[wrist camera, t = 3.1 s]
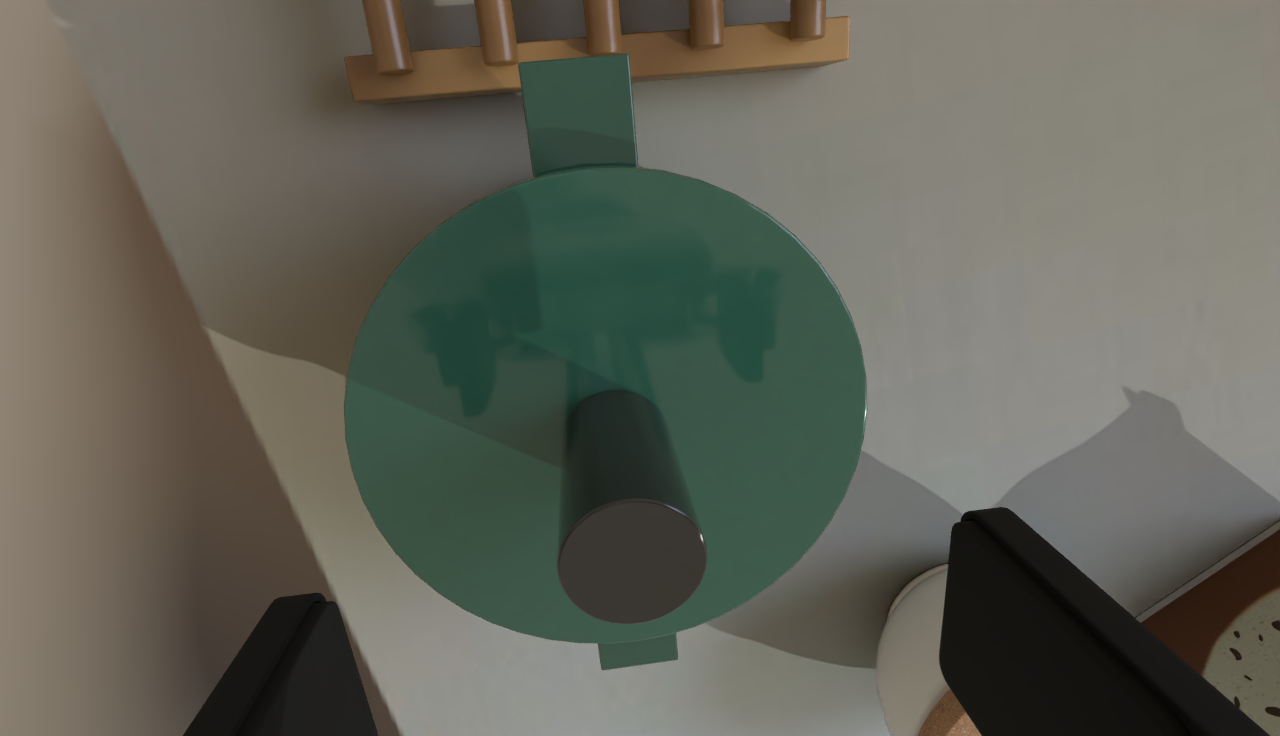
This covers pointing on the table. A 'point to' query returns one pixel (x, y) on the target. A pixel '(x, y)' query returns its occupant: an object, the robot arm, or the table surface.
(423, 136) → the table surface
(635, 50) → the dish rack
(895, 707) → the trinket box
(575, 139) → the pot
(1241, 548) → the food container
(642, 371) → the lid
